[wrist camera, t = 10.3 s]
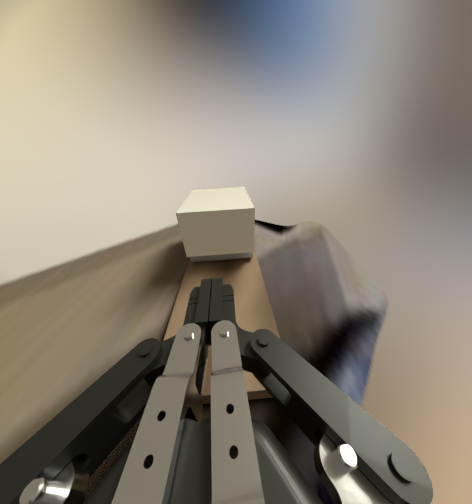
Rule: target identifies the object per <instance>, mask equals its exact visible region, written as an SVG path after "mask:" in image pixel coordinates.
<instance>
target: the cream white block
mask: <svg viewBox="0 0 472 504" xmlns="http://www.w3.org/2000/svg"><path fill="white" fill-rule="evenodd" d="M254 210H255V208H254V206H253V204H252V202H251V200H250V198H249V196H248V194H247V191H246V189H245V188H244V187H234V188H220V189H219V188H218V189H204V190H203V189H202V190H192V192H191V193H190V195H189V196H188V197H187V199H186V200H185V201H184V203H183V204H182V205H181V207H180V208H179V210H178V211H177V212H176V216H177V220H178V224H179V228H180V232H181V236H182V240H183V244H184V248H185V253H186V257H190V261H191V262H205V261H219V260H233V259H246V258H253V252H254V217H255V211H254Z"/></svg>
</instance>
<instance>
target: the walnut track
mask: <svg viewBox="0 0 472 504" xmlns="http://www.w3.org/2000/svg"><path fill="white" fill-rule="evenodd" d="M221 277H223V285H224V284H230V285H231V286H232V288H233V290H234V303H235V316H236V323H237V325H238V326H239V327H240V328H241V329H243V330H245V331H249V332H253V333H254V332H255V331H256V330H258V329H267V330H269V331H271V332H272V333H273V334H275V335H276V336H277V337H278V338H279V339H280V336H279V333H278V329H277V326H276V323H275V319H274V316H273V312H272V309H271V305H270V302H269V298H268V295H267V292H266V288H265V285H264V281H263V278H262V274H261V271H260V267H259V264H258V261H257V257H256V254H255V250H254V252H253V258H246V259H233V260H219V261H205V262H191V261H190V257H189V261H188V264H187V267H186V270H185V273H184V276H183V280H182V283H181V286H180V289H179V292H178V296H177V299H176V302H175V305H174V308H173V311H172V315H171V318H170V321H169V324H168V327H167V331H166V334H165V337H164V340H166V339H169V338H171V337H173V336H175V335H176V334H177V332H178V330H179V329H180V328H181V327H182V326H183V323H184V319H185V315H186V310H187V306H188V301H189V297H190V292H191V291H192V290H193V288H194V287H200V285H201V280H202V279H209V278H221ZM164 340H163V341H164ZM243 372H244V377H245V384H246V390H247V396H248V400H252V399H263V398H273V397H272V396H271V395H270V394H269V392H268V391H267V390H266V389H265V388H264V387H263V386H262V384H261V383H260V382H259V381H258V380H257V379H256V378H255V376H254V375H253V374H252V373H251V372H247V371H244V370H243ZM211 373H212V345H210V346H208V363H207V371H206V378H205V385H204V392H203V404H209V403H211Z"/></svg>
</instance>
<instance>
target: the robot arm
mask: <svg viewBox="0 0 472 504" xmlns="http://www.w3.org/2000/svg"><path fill="white" fill-rule="evenodd" d="M210 345H212V373H211V417H209V418H207V419H205V420H203V421H202V415H203V392H204V385H205V378H206V371H207V363H208V346H210ZM243 370H244V371H247V372H251V373H252V374H253V375H254V376H255V378H256V379H257V380H258V381H259V382H260V383H261V384H262V386H263V387H264V388H265V389H266V390H267V391H268V392H269V394H270V395H271V396H272V397H273V398H274V399H275V401H276V402H277V403H278V404H279V405H280V406H281V407H282V409H283V410H284V411H285V412H286V413H287V414H288V415H289V417H290V418H291V419H292V420H293V421H294V422H295V423H296V425H297V426H298V427H299V428H300V429H301V430H302V431H303V433H304V434H305V435H306V436H307V437H308V438H309V439H310V441H311V442H312V443H313V444H314V445H315V446H316V447H315V450H314V462H315V467H316V470H317V473H318V475H319V477H320V479H321V481H322V482H323V484H324V486H325V487H326V489H327V490H328V492H329V494H330V496H331V499H332V501H333V504H430V503H431V501H432V498H433V488H432V484H431V481H430V478H429V475H428V473H427V471H426V469H425V467H424V466H423V464H422V463H421V461H420V460H419V458H418V457H417V456H416V455H415V453H414V452H413V451H412V450H411V449H410V448H409V447H408V446H407V445H406V444H405V443H403V442H402V441H401V440H400V439H399V438H397V437H396V436H395V435H394V434H393V433H391V432H390V431H389V430H388V429H387V428H385V427H384V426H383V425H382V424H381V423H380V422H378V421H377V420H376V419H375V418H373V417H372V416H371V415H370V414H369V413H368V412H366V411H365V410H364V409H363V408H362V407H361V406H359V405H358V404H357V403H356V402H355V401H353V400H352V399H351V398H350V397H349V396H347V395H346V394H345V393H344V392H343V391H341V390H340V389H339V388H338V387H337V386H335V385H334V384H333V383H332V382H331V381H329V380H328V379H327V378H326V377H325V376H324V375H322V374H321V373H320V372H319V371H318V370H316V369H315V368H314V367H313V366H312V365H310V364H309V363H308V362H307V361H306V360H304V359H303V358H302V357H301V356H300V355H298V354H297V353H296V352H295V351H294V350H293V349H291V348H290V347H289V346H288V345H287V344H285V343H284V342H283V341H282V340H281V339H279V338H278V337H277V336H276V335H275V334H273V333H272V332H271V331H269V330H267V329H258V330H256V331H255V332H254V333H253V332H249V331H245V330H243V329H241V328H240V327H239V326H238V325H237V323H236V316H235V303H234V290H233V288H232V286H231V285H230V284H224V285H223V277H221V278H209V279H202V280H201V285H200V287H194V288H193V290H192V291H191V292H190V297H189V301H188V306H187V310H186V315H185V319H184V323H183V326H182V327H181V328H180V329H179V330H178V332H177V334H176V335H175V336H173V337H171V338H169V339H166V340H164V341H161V342H159V341H158V340H157V339H154V338H150V339H146V340H144V341H142V342H140V343H139V344H138V345H137V346H136V347H135V348H133V349H132V350H131V351H130V352H129V353H128V354H126V355H125V356H124V357H123V358H122V359H121V360H120V361H118V362H117V363H116V364H115V365H114V366H113V367H112V368H110V369H109V370H108V371H107V372H106V373H105V374H103V375H102V376H101V377H100V378H99V379H98V380H97V381H95V382H94V383H93V384H92V385H91V386H90V387H89V388H87V389H86V390H85V391H84V392H83V393H82V394H80V395H79V396H78V397H77V398H76V399H75V400H74V401H72V402H71V403H70V404H69V405H68V406H67V407H66V408H64V409H63V410H62V411H61V412H60V413H59V414H57V415H56V416H55V417H54V418H53V419H52V420H51V421H49V422H48V423H47V424H46V425H45V426H44V427H43V428H41V429H40V430H39V431H38V432H37V433H36V434H34V435H33V436H32V437H31V438H30V439H29V440H28V441H26V442H25V443H24V444H23V445H22V446H21V447H20V448H18V449H17V450H16V451H15V452H14V453H13V454H11V455H10V456H9V457H8V458H7V459H6V460H5V461H3V462H2V463H1V464H0V504H323V502H322V501H321V500H320V498H319V497H318V495H317V494H316V493H315V491H314V490H313V489H312V487H311V486H310V484H309V483H308V482H307V480H306V479H305V477H304V476H303V475H302V473H301V472H300V470H299V469H298V468H297V466H296V465H295V463H294V462H293V461H292V459H291V458H290V456H289V455H288V454H287V452H286V451H285V449H284V448H283V447H282V445H281V444H280V442H279V441H278V440H277V438H276V437H275V435H274V434H273V433H272V432H271V430H270V429H269V428H268V427H267V426H266V425H265V424H263V423H262V422H261V421H259V420H258V419H256V418H254V417H252V416H251V415H250V409H249V403H248V396H247V390H246V384H245V377H244V372H243ZM142 415H143V416H142ZM141 416H142V419H141V422H140V425H139V427H138V430H137V433H136V436H135V439H134V440H133V441H132V442H131V443H130V444H129V445H128V446H127V447H126V448H125V450H124V451H123V452H122V453H121V455H120V456H119V457H118V458H117V460H116V461H115V462H114V464H113V465H112V466H111V468H110V469H109V470H108V471H107V473H106V474H105V475H104V477H103V478H102V479H101V481H100V482H99V483H98V484H97V486H96V487H95V488H94V490H93V491H92V492H91V494H90V495H89V496H88V497H87V499H86V500H85V498H86V495H87V489H88V485H89V478H90V477H91V475H92V474H93V473H94V472H95V471H96V469H97V468H98V467H99V466H100V465H101V464H102V462H103V461H104V460H105V459H106V458H107V456H108V455H109V454H110V453H111V452H112V450H113V449H114V448H115V447H116V446H117V444H118V443H119V442H120V441H121V440H122V439H123V437H124V436H125V435H126V434H127V433H128V431H129V430H130V429H131V428H132V427H133V425H134V424H135V423H136V422H137V421H138V420H139V418H140V417H141ZM84 500H85V501H84ZM83 502H84V503H83Z"/></svg>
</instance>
